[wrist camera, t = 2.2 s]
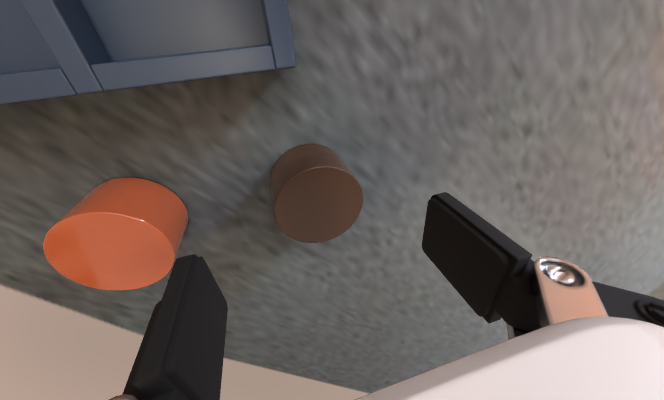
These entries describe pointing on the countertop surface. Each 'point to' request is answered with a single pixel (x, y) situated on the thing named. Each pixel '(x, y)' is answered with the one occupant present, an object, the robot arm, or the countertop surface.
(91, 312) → the countertop surface
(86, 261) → the cylinder
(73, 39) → the grid
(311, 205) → the cylinder
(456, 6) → the countertop surface
